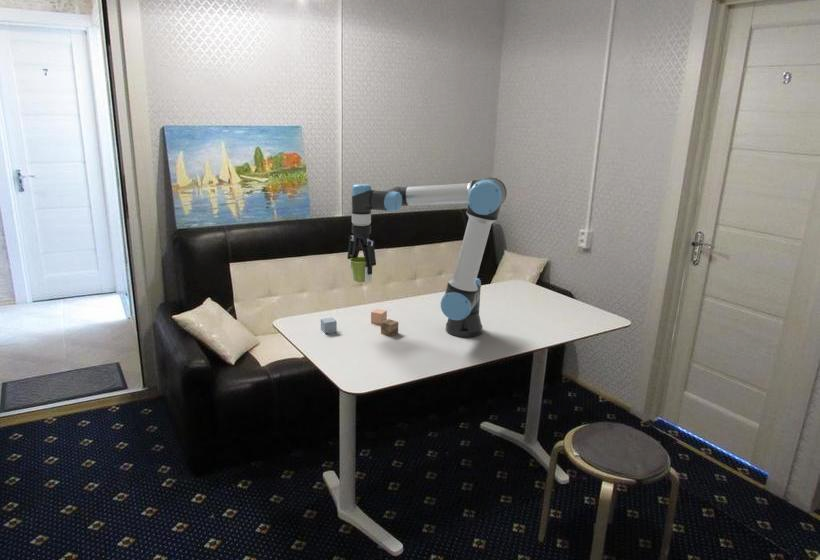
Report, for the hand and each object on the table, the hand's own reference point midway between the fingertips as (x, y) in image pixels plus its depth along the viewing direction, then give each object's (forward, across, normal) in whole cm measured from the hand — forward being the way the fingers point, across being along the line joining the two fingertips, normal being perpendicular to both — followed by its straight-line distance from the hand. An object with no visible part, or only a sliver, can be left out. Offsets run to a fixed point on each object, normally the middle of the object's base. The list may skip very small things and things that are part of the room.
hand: (361, 279), depth 235 cm
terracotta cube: (+21, +2, -11) cm, 24 cm away
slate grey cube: (+21, +6, +12) cm, 25 cm away
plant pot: (+1, 0, 0) cm, 1 cm away
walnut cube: (+21, -11, -6) cm, 25 cm away
